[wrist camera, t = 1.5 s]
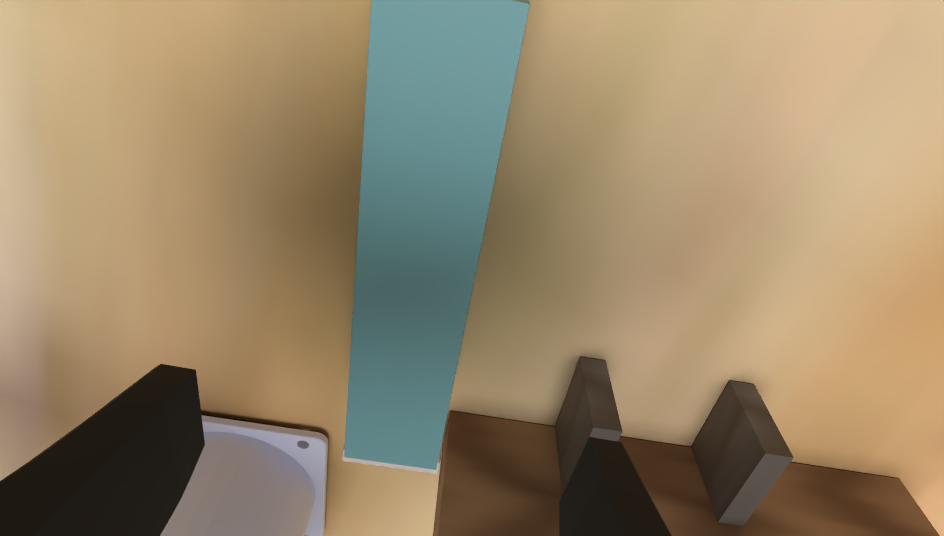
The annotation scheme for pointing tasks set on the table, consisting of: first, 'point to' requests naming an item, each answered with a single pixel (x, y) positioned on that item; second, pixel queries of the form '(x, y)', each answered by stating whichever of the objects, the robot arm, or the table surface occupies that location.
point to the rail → (423, 213)
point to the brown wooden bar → (660, 474)
